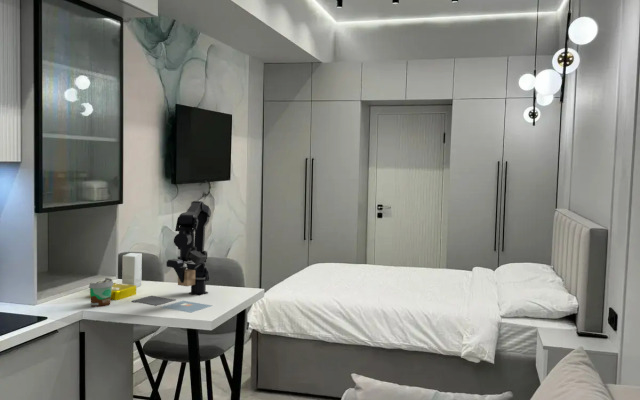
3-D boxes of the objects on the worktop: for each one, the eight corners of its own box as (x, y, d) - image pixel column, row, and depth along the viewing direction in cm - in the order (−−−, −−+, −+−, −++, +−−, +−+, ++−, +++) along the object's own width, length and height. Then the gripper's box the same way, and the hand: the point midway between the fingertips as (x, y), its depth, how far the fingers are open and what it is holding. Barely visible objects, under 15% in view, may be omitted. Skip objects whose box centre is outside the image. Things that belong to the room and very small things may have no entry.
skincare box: (129, 284, 283) (129, 252, 282) (142, 285, 282) (142, 253, 281) (121, 288, 275) (121, 255, 274) (134, 288, 274) (135, 255, 273)
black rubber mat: (151, 296, 260) (151, 295, 259) (176, 300, 253) (176, 299, 253) (131, 301, 249) (131, 300, 249) (156, 306, 242) (156, 305, 242)
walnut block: (185, 283, 248) (186, 269, 248) (195, 284, 246) (195, 270, 245) (177, 285, 244) (178, 270, 243) (187, 286, 241) (187, 272, 241)
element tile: (138, 294, 264) (138, 284, 264) (117, 301, 250) (117, 290, 250) (110, 291, 269) (110, 281, 269) (87, 298, 255) (87, 287, 254)
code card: (183, 301, 253) (183, 300, 252) (212, 306, 245) (212, 305, 245) (160, 307, 240) (160, 307, 240) (190, 313, 233) (190, 312, 233)
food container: (102, 308, 236) (102, 284, 235) (88, 307, 237) (89, 283, 236) (119, 302, 248) (119, 278, 247) (105, 301, 249) (106, 277, 248)
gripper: (187, 248, 232) (186, 287, 233) (216, 243, 248) (216, 280, 249) (165, 246, 237) (165, 284, 238) (195, 241, 253) (195, 277, 254)
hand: (186, 281), depth 245 cm, fingers closed on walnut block, 5 cm apart
